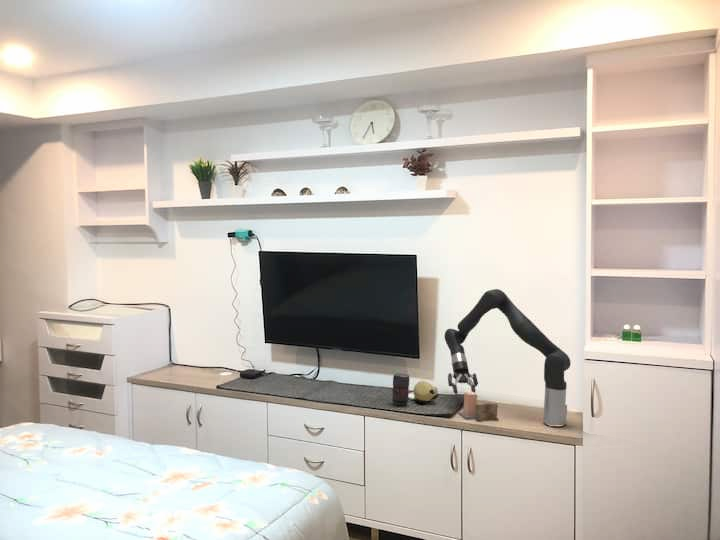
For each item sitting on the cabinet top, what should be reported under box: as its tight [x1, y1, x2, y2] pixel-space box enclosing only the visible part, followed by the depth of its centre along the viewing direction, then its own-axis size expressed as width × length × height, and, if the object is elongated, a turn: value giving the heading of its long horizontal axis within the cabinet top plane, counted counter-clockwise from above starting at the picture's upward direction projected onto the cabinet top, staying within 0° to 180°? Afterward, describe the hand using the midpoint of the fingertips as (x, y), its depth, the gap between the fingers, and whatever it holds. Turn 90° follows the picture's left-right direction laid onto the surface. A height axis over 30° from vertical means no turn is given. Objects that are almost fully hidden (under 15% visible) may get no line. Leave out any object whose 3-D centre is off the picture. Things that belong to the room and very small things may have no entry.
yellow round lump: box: [413, 380, 439, 402], centre depth 298 cm, size 10×12×11 cm
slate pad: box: [457, 411, 476, 420], centre depth 279 cm, size 8×8×1 cm
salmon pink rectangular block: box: [462, 391, 478, 416], centre depth 279 cm, size 4×4×10 cm
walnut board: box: [474, 402, 499, 423], centre depth 274 cm, size 10×4×8 cm, turn 106°
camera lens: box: [391, 372, 410, 408], centre depth 292 cm, size 8×8×15 cm
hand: (465, 393), depth 286 cm, fingers open, 8 cm apart
